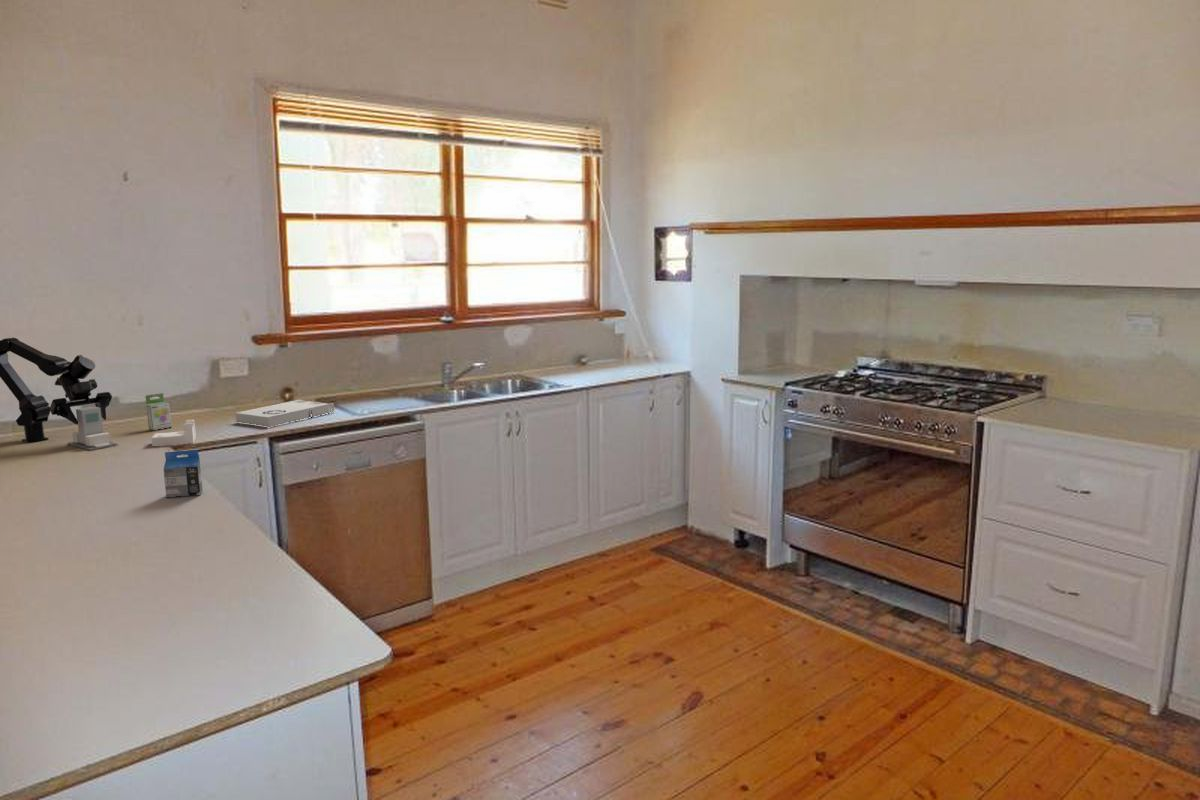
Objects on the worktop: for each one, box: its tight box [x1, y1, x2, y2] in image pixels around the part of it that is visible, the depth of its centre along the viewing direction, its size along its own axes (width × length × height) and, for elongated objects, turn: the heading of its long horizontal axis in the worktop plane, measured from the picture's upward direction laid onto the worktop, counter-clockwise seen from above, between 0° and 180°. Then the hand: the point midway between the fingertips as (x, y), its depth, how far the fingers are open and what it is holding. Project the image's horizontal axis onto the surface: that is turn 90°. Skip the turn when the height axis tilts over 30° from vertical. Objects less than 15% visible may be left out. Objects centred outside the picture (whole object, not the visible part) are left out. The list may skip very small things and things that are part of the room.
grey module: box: [75, 406, 104, 444], centre depth 293 cm, size 5×6×12 cm
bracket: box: [151, 419, 197, 447], centre depth 295 cm, size 13×7×8 cm, turn 109°
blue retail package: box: [163, 449, 203, 498], centre depth 232 cm, size 9×4×12 cm, turn 105°
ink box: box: [145, 392, 173, 431], centre depth 318 cm, size 7×4×13 cm, turn 143°
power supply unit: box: [235, 399, 335, 427], centre depth 337 cm, size 19×33×5 cm, turn 151°
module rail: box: [67, 431, 119, 452], centre depth 294 cm, size 17×9×4 cm, turn 55°
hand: (91, 421), depth 292 cm, fingers open, 9 cm apart
